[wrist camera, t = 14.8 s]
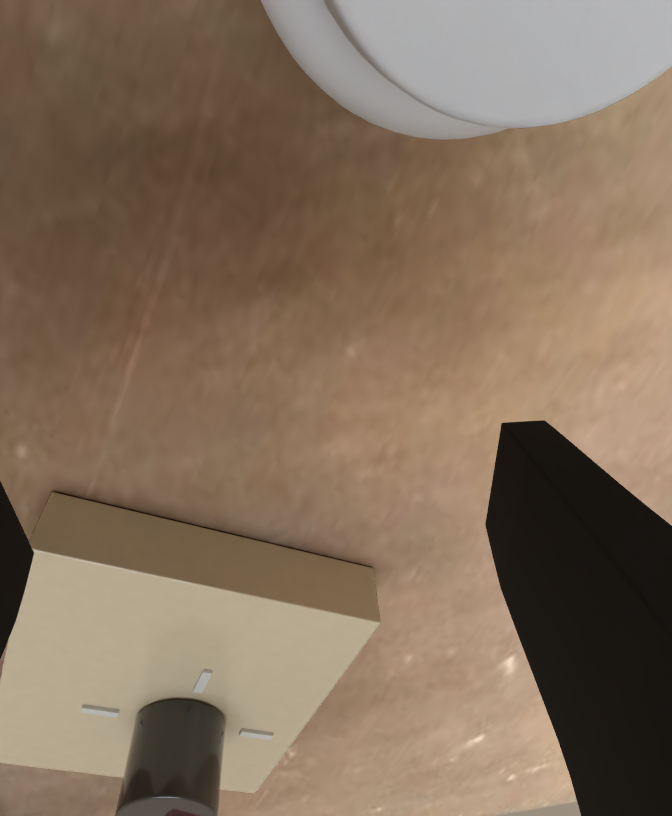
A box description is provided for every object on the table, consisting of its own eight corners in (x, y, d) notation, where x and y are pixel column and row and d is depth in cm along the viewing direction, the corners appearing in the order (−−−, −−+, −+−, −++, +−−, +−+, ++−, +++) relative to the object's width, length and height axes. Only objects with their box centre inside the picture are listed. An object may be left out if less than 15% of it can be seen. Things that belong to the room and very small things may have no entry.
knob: (118, 728, 25) (93, 836, 22) (166, 688, 23) (146, 798, 20) (194, 752, 26) (181, 856, 23) (243, 716, 25) (236, 822, 22)
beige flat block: (51, 491, 21) (23, 552, 18) (374, 567, 24) (382, 627, 22) (6, 703, 28) (-19, 765, 26) (257, 740, 31) (255, 797, 29)
